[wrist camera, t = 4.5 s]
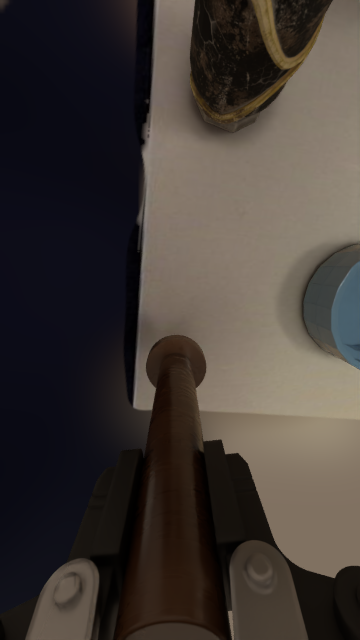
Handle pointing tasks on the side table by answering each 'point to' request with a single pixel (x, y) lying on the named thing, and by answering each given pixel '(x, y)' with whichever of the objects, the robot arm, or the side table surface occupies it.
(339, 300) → the bowl
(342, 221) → the side table surface
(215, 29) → the lantern
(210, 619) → the brown wooden peg
